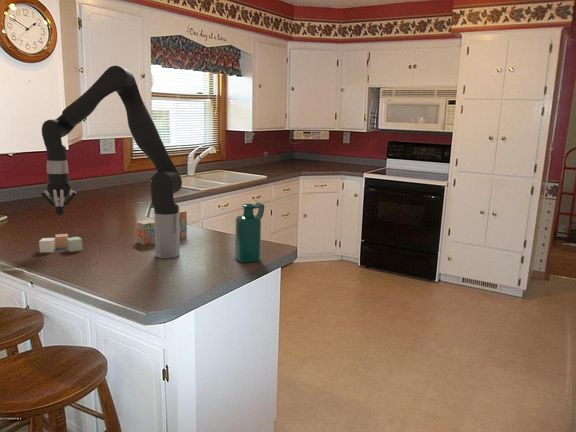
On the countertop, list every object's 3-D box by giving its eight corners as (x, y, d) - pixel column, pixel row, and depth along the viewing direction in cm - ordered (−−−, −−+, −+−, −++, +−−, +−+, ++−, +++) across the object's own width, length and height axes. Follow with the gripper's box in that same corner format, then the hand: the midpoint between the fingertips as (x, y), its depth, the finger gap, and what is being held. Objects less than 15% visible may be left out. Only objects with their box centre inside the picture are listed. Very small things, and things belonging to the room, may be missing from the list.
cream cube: (52, 252, 182) (51, 240, 181) (39, 252, 181) (39, 241, 180) (55, 249, 186) (55, 237, 185) (43, 249, 185) (42, 238, 184)
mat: (81, 253, 185) (81, 251, 185) (38, 255, 180) (38, 253, 180) (83, 245, 195) (83, 243, 195) (42, 247, 190) (42, 245, 190)
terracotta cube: (69, 247, 189) (68, 236, 188) (56, 248, 187) (55, 237, 186) (68, 244, 193) (67, 233, 192) (56, 245, 191) (55, 234, 190)
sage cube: (82, 250, 186) (81, 239, 185) (70, 251, 183) (69, 240, 182) (79, 247, 189) (78, 236, 188) (67, 249, 186) (66, 238, 185)
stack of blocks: (144, 245, 198) (143, 217, 196) (136, 242, 202) (135, 214, 200) (187, 237, 214) (186, 210, 211) (179, 234, 218) (178, 208, 215)
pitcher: (240, 263, 178) (241, 206, 174) (233, 257, 186) (234, 202, 181) (264, 261, 182) (266, 205, 178) (257, 255, 190) (258, 201, 185)
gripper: (37, 173, 178) (40, 217, 182) (75, 173, 183) (77, 216, 186) (40, 170, 185) (43, 213, 189) (77, 170, 189) (79, 212, 193)
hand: (60, 215), depth 188 cm, fingers closed
